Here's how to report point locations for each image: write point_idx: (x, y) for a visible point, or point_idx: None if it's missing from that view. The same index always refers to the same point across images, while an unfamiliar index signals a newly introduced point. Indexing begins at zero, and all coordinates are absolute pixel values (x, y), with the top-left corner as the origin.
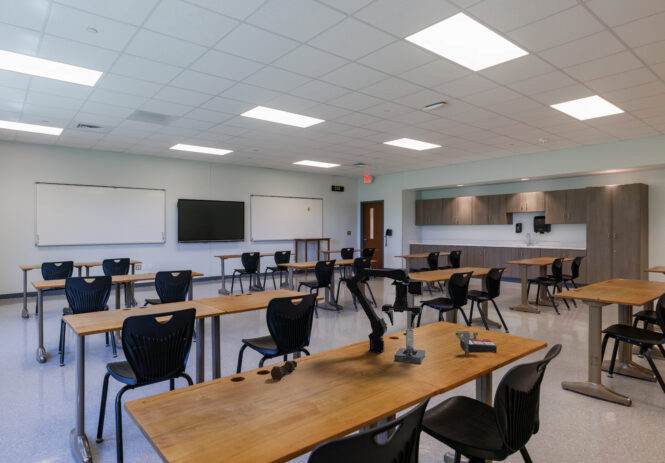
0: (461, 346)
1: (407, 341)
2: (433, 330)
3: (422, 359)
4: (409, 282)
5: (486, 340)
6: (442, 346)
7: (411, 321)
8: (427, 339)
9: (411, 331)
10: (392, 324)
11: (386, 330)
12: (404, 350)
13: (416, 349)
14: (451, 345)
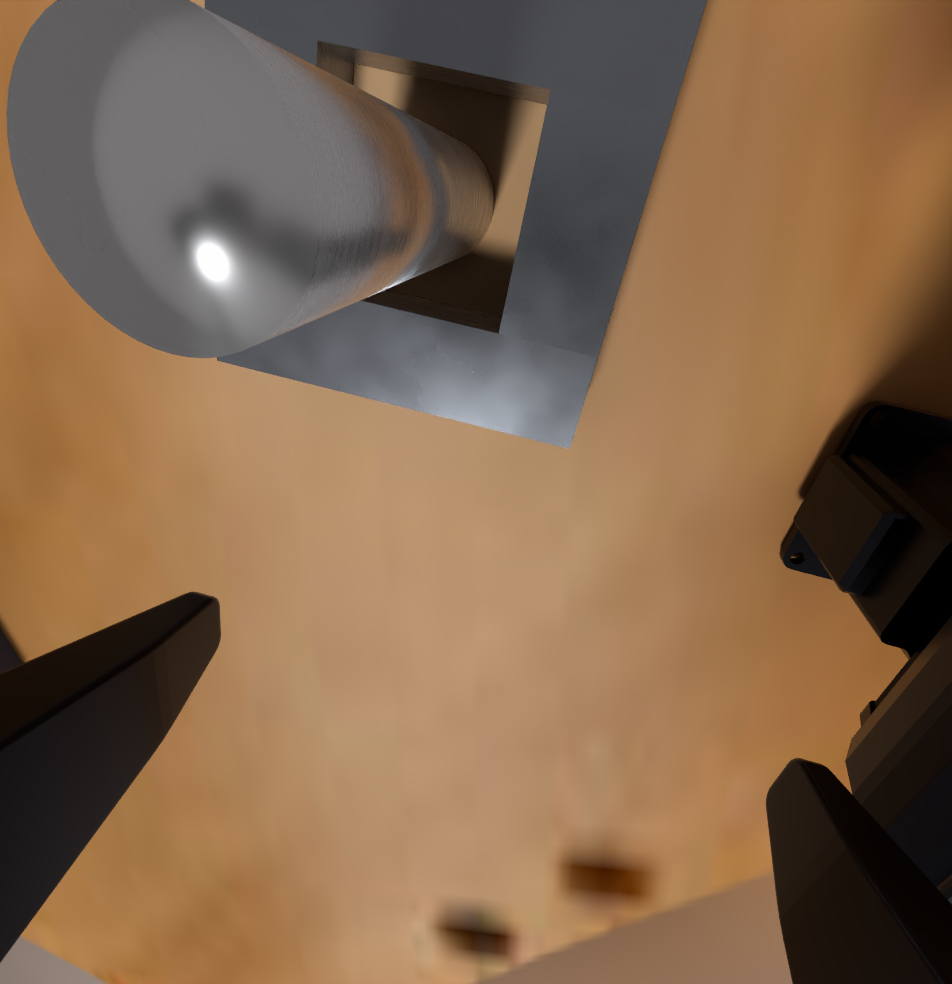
0: (7, 645)
1: (387, 105)
2: (293, 967)
3: None
4: None
5: None
6: None
7: (1, 719)
8: (308, 817)
9: (62, 26)
10: (827, 798)
11: (871, 751)
12: (507, 314)
13: (334, 389)
14: None
